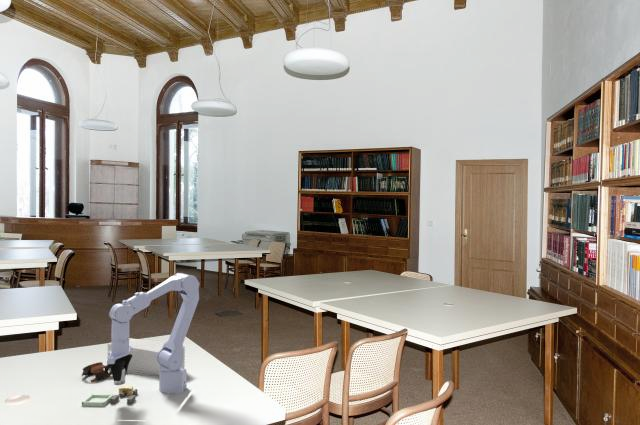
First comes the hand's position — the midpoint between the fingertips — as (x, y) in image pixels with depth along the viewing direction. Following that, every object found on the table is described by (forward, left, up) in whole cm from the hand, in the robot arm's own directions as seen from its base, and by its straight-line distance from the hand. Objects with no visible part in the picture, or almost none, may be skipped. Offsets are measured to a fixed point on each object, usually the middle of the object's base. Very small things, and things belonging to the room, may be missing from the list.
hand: (119, 378), depth 166 cm
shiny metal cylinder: (0, 0, -2) cm, 2 cm away
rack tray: (+7, 0, -9) cm, 11 cm away
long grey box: (+5, -37, -10) cm, 38 cm away
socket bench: (+3, -4, -10) cm, 11 cm away
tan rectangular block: (+1, -7, -8) cm, 10 cm away
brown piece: (+19, -23, -10) cm, 31 cm away
